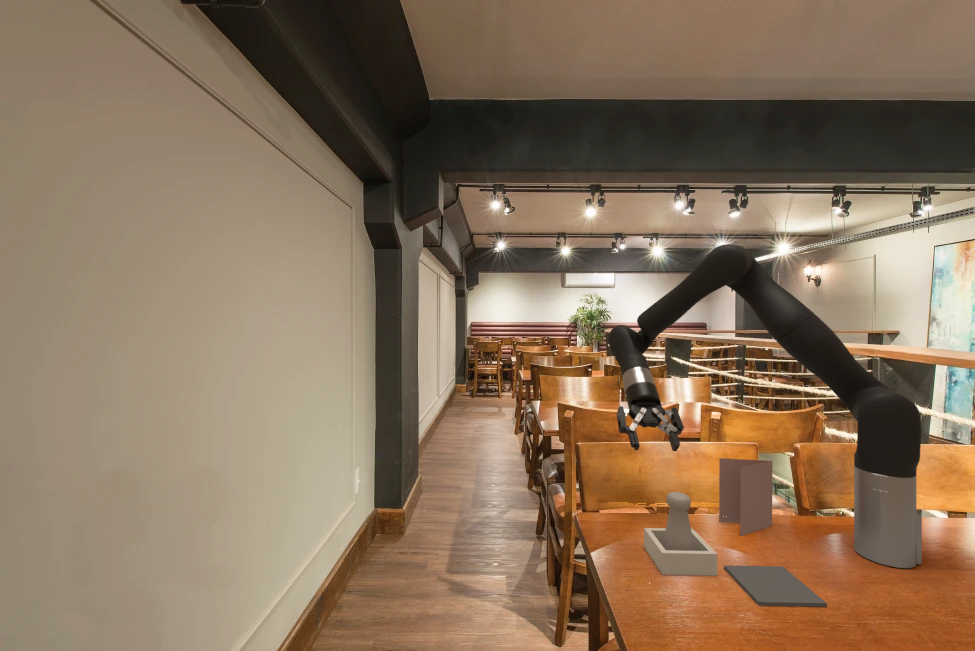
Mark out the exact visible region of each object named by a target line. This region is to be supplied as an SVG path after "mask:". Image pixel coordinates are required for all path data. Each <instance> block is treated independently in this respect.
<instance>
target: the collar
mask: <svg viewBox="0 0 975 651" xmlns="http://www.w3.org/2000/svg"><path fill="white" fill-rule="evenodd" d="M665 530H666V527H662V528H661V527H659V528H658V527H644V528H643V548H644V550H645V549H646V550H645V551H646V553H647V552H648V553H647V554H648V556H649V555H650V556H651V557H650V556H649V557H650V558H652V559H653V560H652V559H651V560H652V562H653V561H654V562H655V563H654V562H653V563H654V565H655V564H656V565H655V566H656V567H658V568H657V569H658V570H660V571H659V572H660V574H661V573H662V574H661V575H662V576H664V574H665V576H710V577H711V576H712V577H713V576H714V577H715V576H716V577H717V576H718V553H717V552H716V551H715V550H714V549H713V548H712V547H711V546H710V544H708V542H706V541H705V540H704V539H703V537H701V536H700V534H699V533H698V532H696V530H695V529H693V528H691V533H692V538H693V544H694V549H695V551H676V550H665V549H664V547H663V540H664V535H665Z"/></svg>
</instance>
